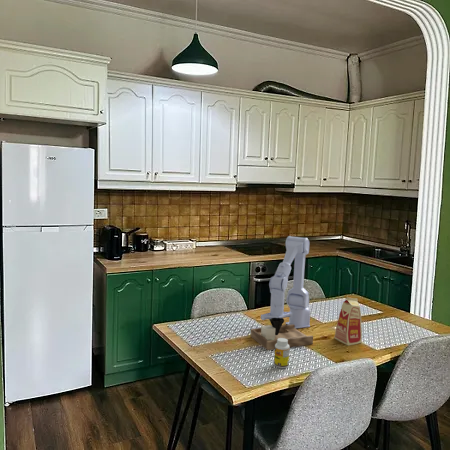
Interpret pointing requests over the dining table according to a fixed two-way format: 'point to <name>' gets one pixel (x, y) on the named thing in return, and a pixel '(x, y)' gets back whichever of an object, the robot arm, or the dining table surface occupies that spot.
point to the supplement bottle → (281, 353)
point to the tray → (285, 332)
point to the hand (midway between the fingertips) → (275, 334)
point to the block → (268, 332)
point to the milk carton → (349, 323)
